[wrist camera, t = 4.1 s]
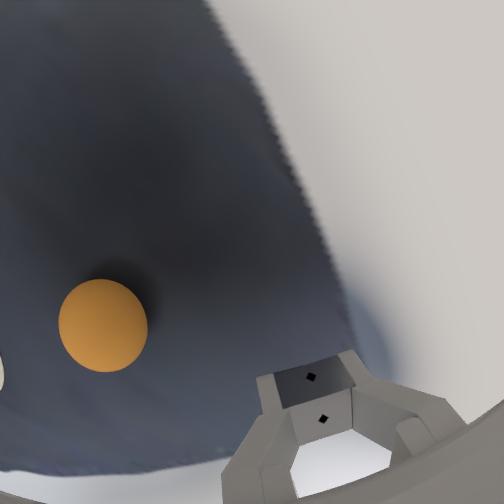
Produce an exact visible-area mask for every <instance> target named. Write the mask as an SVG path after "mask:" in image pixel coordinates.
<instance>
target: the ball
mask: <svg viewBox="0 0 504 504" xmlns="http://www.w3.org/2000/svg"><path fill="white" fill-rule="evenodd" d="M147 330H148V329H147V318H146V315H145V312H144V309H143V307H142V304H141V303H140V301H139V300H138V298H137V297H136V296H135V295H134V294H133V293H132V292H131V291H130V290H129V289H128V288H126V287H125V286H123V285H121V284H119V283H117V282H114V281H111V280H107V279H95V280H90V281H87V282H84V283H82V284H80V285H78V286H77V287H76V288H74V289H73V290H72V291H71V292H70V293H69V294H68V296H67V297H66V299H65V300H64V302H63V304H62V307H61V310H60V314H59V332H60V336H61V339H62V342H63V344H64V346H65V348H66V350H67V351H68V352H69V354H70V355H71V356H72V357H73V358H74V359H75V360H76V361H77V362H78V363H80V364H81V365H83V366H84V367H86V368H89V369H91V370H95V371H99V372H112V371H117V370H120V369H122V368H125V367H126V366H128V365H129V364H131V363H132V362H133V361H134V360H135V359H136V358H137V357H138V356H139V354H140V353H141V351H142V349H143V347H144V345H145V342H146V338H147Z"/></svg>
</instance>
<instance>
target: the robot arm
mask: <svg viewBox="0 0 504 504" xmlns="http://www.w3.org/2000/svg"><path fill="white" fill-rule="evenodd" d="M273 374H274V375H273ZM273 374H268V375H264V376H259V377H257V379H256V381H257V386H258V391H259V396H260V401H261V406H262V411H263V415H259V416H258V417H257V419H256V420H255V422H254V424H253V425H252V427H251V429H250V430H249V432H248V433H247V435H246V437H245V438H244V440H243V441H242V443H241V445H240V446H239V448H238V449H237V451H236V452H235V454H234V455H233V457H232V458H231V460H230V461H229V463H228V465H227V466H226V467H225V469H224V471H223V472H222V474H221V477H222V478H221V479H222V496H223V504H504V400H502V401H501V402H500V403H498V404H497V405H496V406H494V407H493V408H491V409H490V410H489V411H487V412H486V413H484V414H483V415H482V416H480V417H479V418H478V419H476V420H474V421H473V422H471V423H470V424H468V425H467V424H466V423H465V422H464V421H463V419H462V418H461V417H460V416H459V415H458V414H457V412H456V411H455V410H454V409H453V408H452V407H451V405H450V404H449V403H448V402H447V401H446V399H444V398H441V397H437V396H434V395H431V394H427V393H424V392H421V391H417V390H414V389H411V388H407V387H405V386H401V385H398V384H395V383H392V382H389V381H386V380H383V379H380V378H377V379H373V377H372V376H371V374H370V373H369V372H368V370H367V369H366V367H365V366H364V365H363V363H362V362H361V360H360V359H359V357H358V356H357V355H356V353H355V352H354V350H352V349H350V350H347V351H344V352H341V353H339V354H336V355H334V356H331V357H328V358H325V359H322V360H319V361H316V362H312V363H309V364H306V365H302V366H298V367H295V368H291V369H287V370H283V371H279V372H275V373H273ZM274 378H275V379H274ZM349 429H353V430H355V431H356V432H358V433H360V434H362V435H363V436H365V437H367V438H368V439H370V440H372V441H374V442H375V443H377V444H379V445H381V446H383V447H384V448H386V449H388V450H390V451H392V455H391V460H390V465H389V468H386V469H384V470H381V471H379V472H376V473H374V474H371V475H369V476H367V477H364V478H361V479H359V480H356V481H354V482H351V483H348V484H345V485H342V486H339V487H336V488H333V489H330V490H326V491H323V492H320V493H316V494H313V495H309V496H306V497H302V498H299V497H298V494H297V491H296V488H295V485H294V482H293V479H292V477H291V473H290V469H291V467H292V464H293V462H294V459H295V456H296V454H297V451H298V449H299V446H300V445H303V444H306V443H309V442H312V441H316V440H318V439H322V438H324V437H328V436H331V435H334V434H337V433H341V432H344V431H347V430H349ZM0 504H46V503H41V502H37V501H33V500H29V499H26V498H22V497H19V496H15V495H12V494H8V493H5V492H2V491H0Z"/></svg>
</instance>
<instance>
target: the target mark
mask: <svg viewBox="0 0 504 504" xmlns="http://www.w3.org/2000/svg"><path fill="white" fill-rule="evenodd" d="M3 384H4V366H3V362H2V358H1V355H0V390H1V389H2V387H3Z"/></svg>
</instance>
